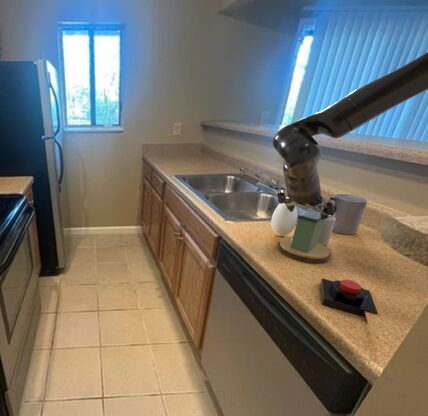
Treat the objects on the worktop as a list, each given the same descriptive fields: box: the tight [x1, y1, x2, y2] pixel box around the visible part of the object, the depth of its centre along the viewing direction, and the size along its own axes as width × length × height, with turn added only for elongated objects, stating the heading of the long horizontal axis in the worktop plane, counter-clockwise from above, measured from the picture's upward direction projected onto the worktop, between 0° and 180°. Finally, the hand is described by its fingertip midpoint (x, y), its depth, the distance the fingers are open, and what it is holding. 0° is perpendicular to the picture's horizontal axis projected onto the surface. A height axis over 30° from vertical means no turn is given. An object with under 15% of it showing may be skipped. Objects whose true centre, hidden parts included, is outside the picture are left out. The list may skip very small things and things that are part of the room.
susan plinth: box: [276, 240, 332, 265], centre depth 94 cm, size 15×15×2 cm
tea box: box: [279, 208, 331, 259], centre depth 92 cm, size 14×14×13 cm
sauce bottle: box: [270, 196, 298, 237], centre depth 104 cm, size 8×8×18 cm
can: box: [318, 214, 336, 246], centre depth 99 cm, size 8×8×12 cm
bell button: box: [339, 279, 362, 294], centre depth 70 cm, size 4×4×2 cm
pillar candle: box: [332, 193, 369, 236], centre depth 108 cm, size 10×10×15 cm
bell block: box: [319, 278, 379, 319], centre depth 71 cm, size 10×10×4 cm
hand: (307, 213), depth 86 cm, fingers open, 8 cm apart
